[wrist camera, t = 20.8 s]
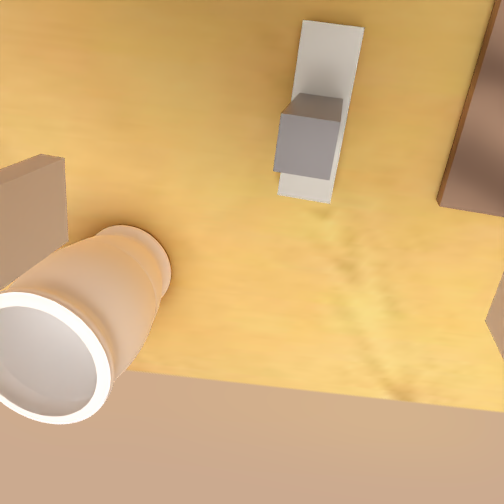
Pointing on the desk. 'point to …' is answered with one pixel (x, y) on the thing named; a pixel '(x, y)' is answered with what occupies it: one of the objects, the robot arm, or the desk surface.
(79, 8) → the desk surface
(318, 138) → the paddle
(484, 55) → the board
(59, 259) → the jar
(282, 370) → the desk surface
